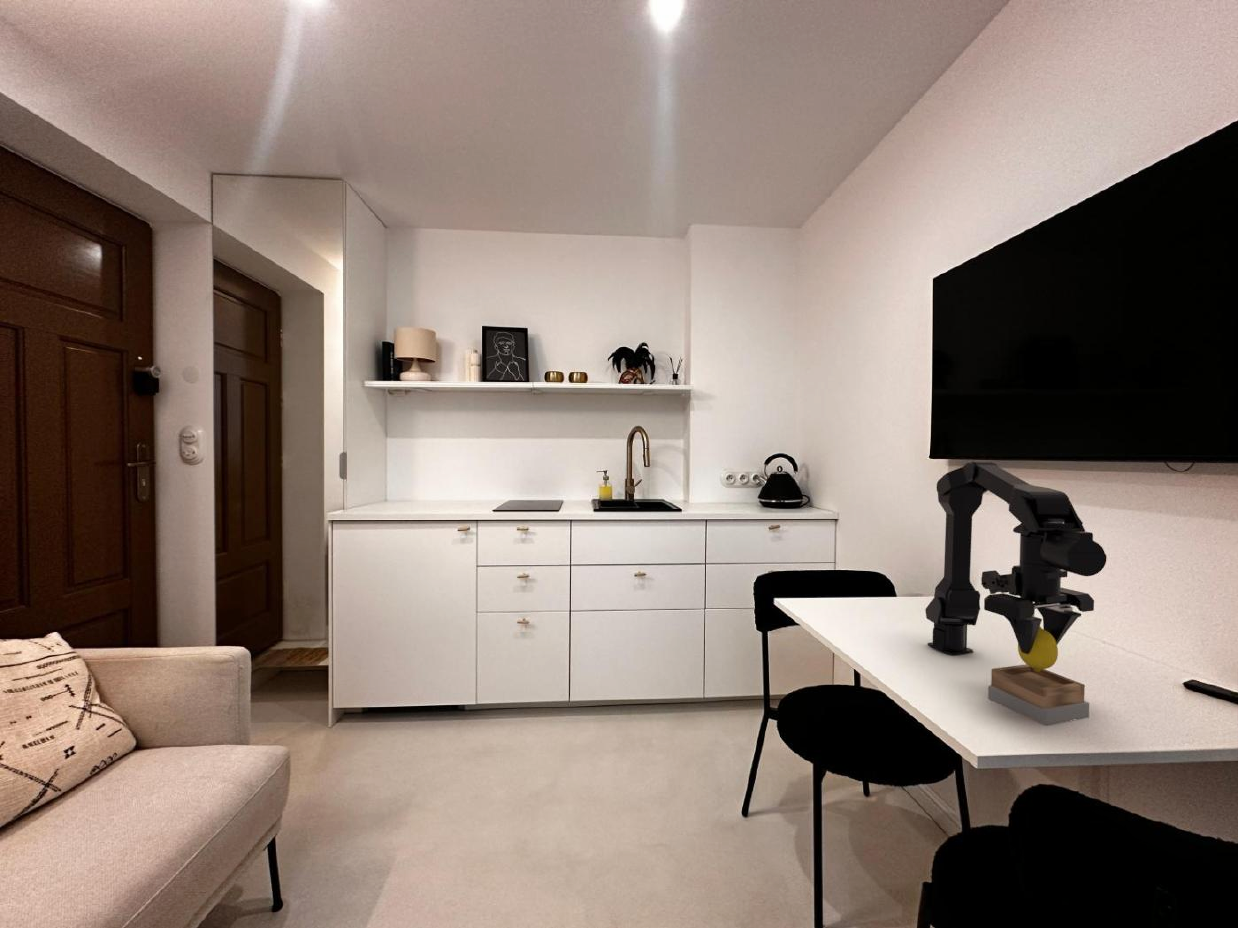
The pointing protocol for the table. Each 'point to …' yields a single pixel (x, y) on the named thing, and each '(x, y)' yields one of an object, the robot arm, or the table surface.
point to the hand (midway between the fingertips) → (1037, 651)
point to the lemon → (1041, 651)
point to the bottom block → (1036, 713)
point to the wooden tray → (1038, 686)
